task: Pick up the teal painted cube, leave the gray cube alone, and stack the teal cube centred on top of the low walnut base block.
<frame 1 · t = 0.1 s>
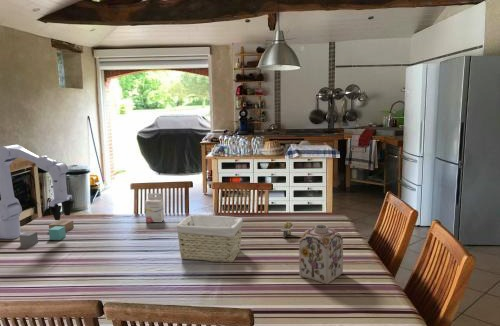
hand: (62, 217, 192), 10 cm above the table, tool pointing down, fingers open, 7 cm apart
ink cartridge box: (155, 221, 217), on the table
gray cube: (29, 244, 187), on the table
small potted plant: (287, 237, 190), on the table
teal cube: (57, 238, 194), on the table
decorative jar: (321, 275, 147), on the table
storage basket: (211, 255, 169), on the table
base block: (61, 230, 207), on the table
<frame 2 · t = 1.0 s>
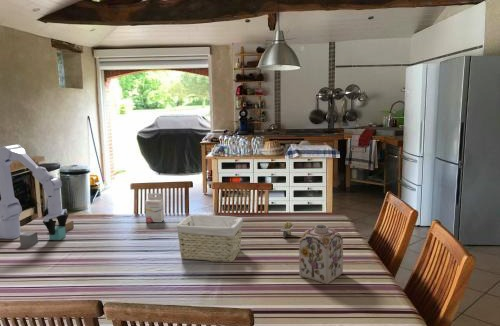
hand: (57, 232, 194), 3 cm above the table, tool pointing down, fingers open, 7 cm apart
nothing on the table moved.
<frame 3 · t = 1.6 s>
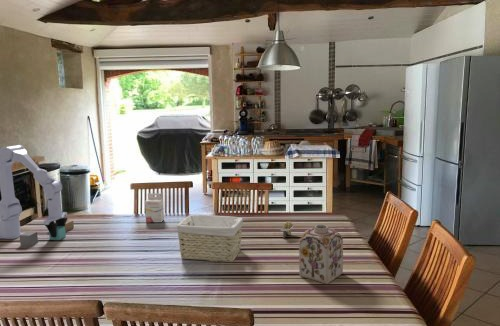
hand: (57, 235, 194), 1 cm above the table, tool pointing down, fingers closed on teal cube, 5 cm apart
teal cube: (57, 238, 194), on the table, touching gripper
everything else where it was.
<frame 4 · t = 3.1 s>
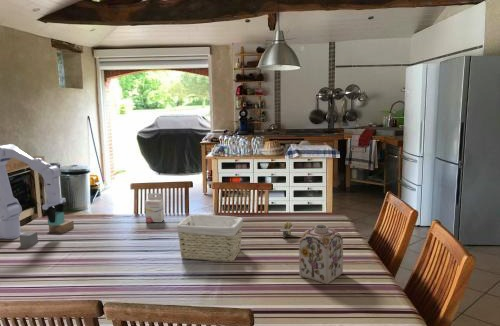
hand: (56, 220, 193), 8 cm above the table, tool pointing down, fingers closed on teal cube, 5 cm apart
teal cube: (56, 223, 193), point 7 cm above the table, touching gripper
everything else where it was.
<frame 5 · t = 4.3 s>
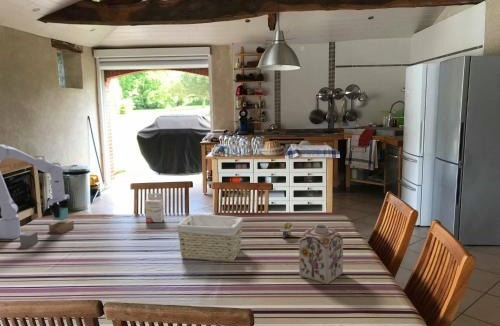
hand: (60, 215, 206), 7 cm above the table, tool pointing down, fingers closed on teal cube, 5 cm apart
teal cube: (60, 218, 206), point 6 cm above the table, touching gripper
everything else where it was.
when the fingers open (7 cm above the table, at t = 4.8 s): teal cube drops 2 cm, resting on base block.
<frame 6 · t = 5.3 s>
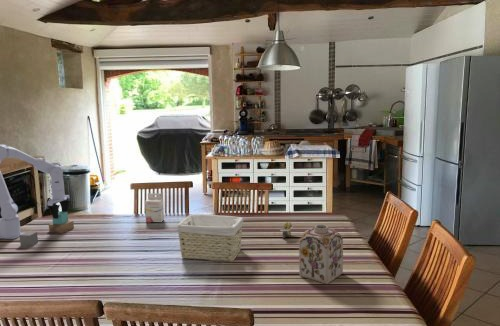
hand: (60, 216, 206), 7 cm above the table, tool pointing down, fingers open, 7 cm apart
teal cube: (60, 222, 206), point 4 cm above the table, touching base block
base block: (61, 230, 207), on the table, touching teal cube
everything else where it was.
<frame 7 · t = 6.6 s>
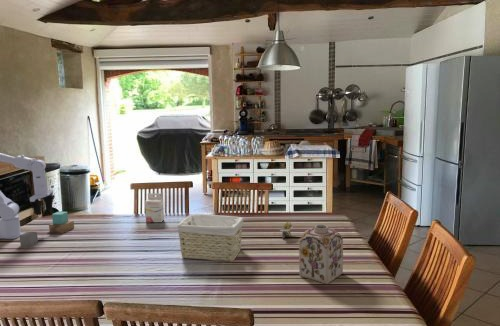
hand: (43, 212, 201), 10 cm above the table, tool pointing down, fingers open, 7 cm apart
teal cube: (60, 222, 206), point 4 cm above the table
base block: (62, 230, 207), on the table
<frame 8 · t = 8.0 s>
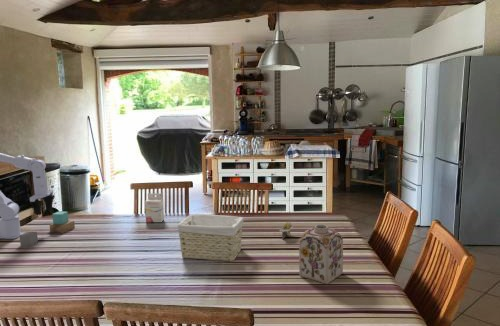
hand: (43, 212, 201), 10 cm above the table, tool pointing down, fingers open, 7 cm apart
at the end: teal cube 0.5 cm off-centre on the base block, point 4.0 cm above the base block's base; teal cube tilted 0°; gray cube moved 0.1 cm from its start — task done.
